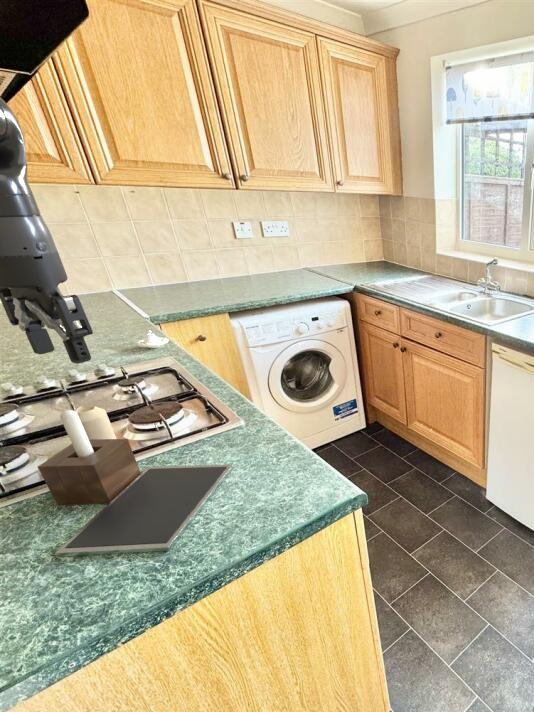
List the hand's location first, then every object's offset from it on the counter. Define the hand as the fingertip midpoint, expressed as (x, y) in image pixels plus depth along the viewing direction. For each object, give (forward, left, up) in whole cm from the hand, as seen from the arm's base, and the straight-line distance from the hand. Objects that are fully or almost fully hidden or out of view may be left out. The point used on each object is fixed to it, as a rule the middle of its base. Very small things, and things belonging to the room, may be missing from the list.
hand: (63, 357), depth 65 cm
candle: (-10, +11, -25) cm, 29 cm away
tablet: (+10, -6, -25) cm, 28 cm away
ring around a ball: (-35, +71, -25) cm, 83 cm away
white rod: (-2, -1, -25) cm, 25 cm away
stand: (-2, -1, -25) cm, 25 cm away
